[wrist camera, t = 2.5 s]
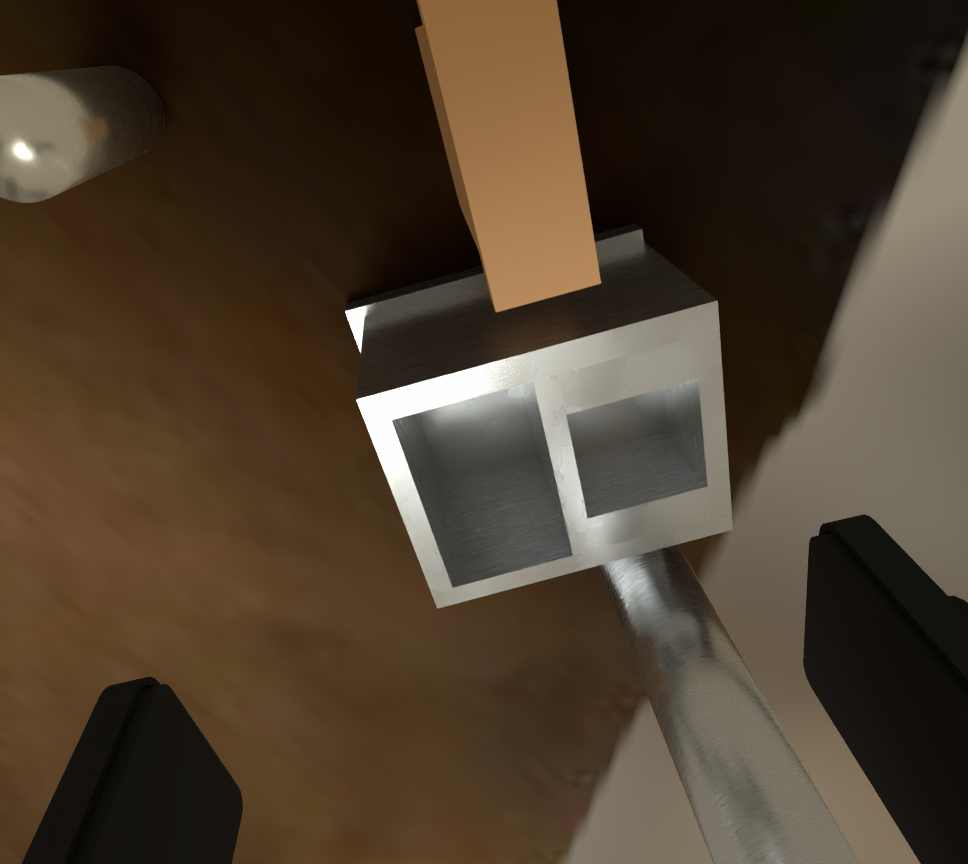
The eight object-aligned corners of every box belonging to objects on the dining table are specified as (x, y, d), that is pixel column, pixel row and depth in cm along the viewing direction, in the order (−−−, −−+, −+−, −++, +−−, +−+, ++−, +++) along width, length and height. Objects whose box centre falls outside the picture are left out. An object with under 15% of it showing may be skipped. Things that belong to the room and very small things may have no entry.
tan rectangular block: (401, -23, 22) (406, -51, 15) (495, -50, 22) (542, -90, 15) (469, 242, 27) (496, 312, 20) (547, 221, 27) (601, 283, 20)
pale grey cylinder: (60, 78, 23) (-85, 95, 16) (140, 55, 23) (31, 62, 16) (104, 165, 24) (-11, 215, 17) (180, 143, 24) (96, 185, 17)
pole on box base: (346, 303, 28) (272, 742, 10) (634, 223, 27) (1051, 536, 10) (445, 571, 35) (496, 1081, 18) (670, 510, 35) (942, 969, 18)
